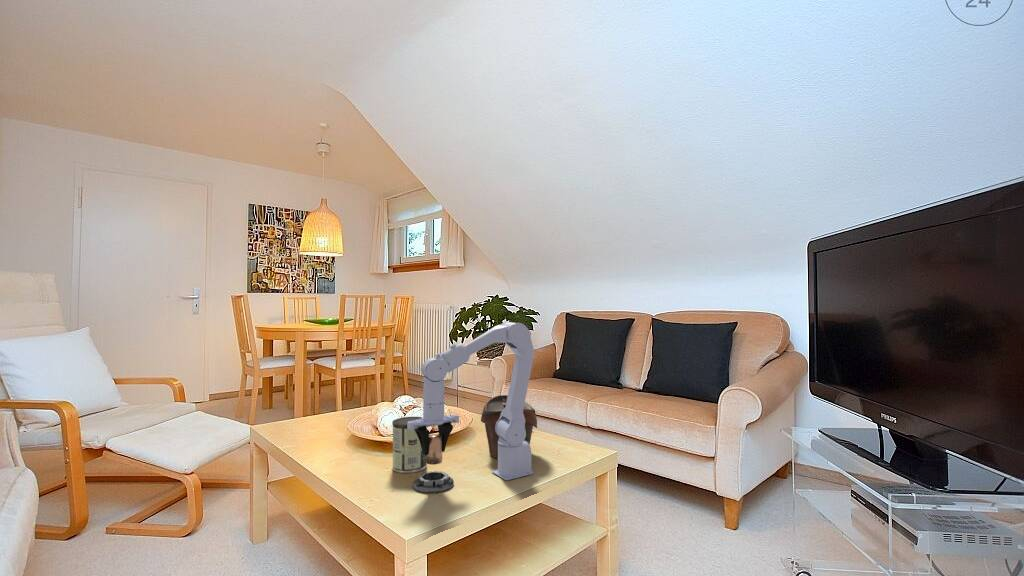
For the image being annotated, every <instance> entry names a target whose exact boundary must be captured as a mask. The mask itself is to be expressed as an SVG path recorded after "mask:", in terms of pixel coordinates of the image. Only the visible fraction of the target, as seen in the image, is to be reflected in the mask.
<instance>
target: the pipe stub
mask: <svg viewBox="0 0 1024 576" xmlns="http://www.w3.org/2000/svg"><path fill="white" fill-rule="evenodd" d="M441 463H443V452H442V435H441V434H439V433H429V439H428V455H426V464H427V465H433V466H435V465H440V464H441Z"/></svg>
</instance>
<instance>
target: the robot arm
mask: <svg viewBox="0 0 1024 576" xmlns="http://www.w3.org/2000/svg"><path fill="white" fill-rule="evenodd" d="M531 336H532V332H531V331H530V330H529V329H528V327H527V326H526V325H525V324H524V323H522V322H512V321H504V322H502V323H501V324H497V325H495V326H493V327H492V328H490V329H488V330H487V331H484V333H482V334H480V335H479V336H477V337H475V338H474V339H473V340H471V341H469V342H468V343H466V344H461V343H457V344H455V343H453V344H451V345H450V346H449V348H448V349H445V350H444V351H442V352H441V353H439V352H438V353H436V354H434V355H435V357H430V358H427V359H426V360H425V361H424V362H423V363H422V367H421V368H420V371H421V374H422V375H423V385H422V386H423V389H422V391H423V392H422V393H423V394H422V402H423V404H422V405H423V406H422V412H423V413H422V414H423V415H422V417H423V418H421V419H417V420H413V421H409V422H407V429H409V430H415V432H416V434H417V436H418V438H419V441H420V444H421V448H422V453H423V454H424V455H428V439H429V434H431V433H430V432H431V431H430V430H429V429H428V427H429V428H430V427H435V426H437V430H438V434H441V435H442V453H443V452H444V453H445V451H446V448H447V447H446V446H447V442H448V440H449V438H450V435H451V433H452V431H453V429H454V425H453V424H454V423H455V424H458V423H460V420H459V419H460V416H459V415H458V414H456V413H455V414H446V415H445V378H446V376H447V374H448V373H451V372H452V371H455V369H458V368H459V367H462V365H464V364H466V363H467V362H469V360H470V357H471V356H472V355H474V354H476V353H477V352H479V351H481V350H483V349H485V348H486V347H489V346H491V345H493V344H496V343H498V344H499V343H501V344H503V343H505V344H506V345H507V346H509V348H510V349H511V350H512V352H513V353H514V355H515V357H514V362H513V366H512V372H511V373H512V374H511V377H510V383H509V388H508V392H507V393H508V394H507V395H508V397H507V402H506V407H505V408H504V410H503V411H502V412H501V416H500V418H499V420H498V421H497V423H496V425H495V431H496V433H497V435H498V436H499V440H498V458H497V469H494V470H491V472H492V474H494V475H496V476H497V477H500V478H501V479H503V480H505V481H510V480H511V481H512V480H514V479H515V480H516V479H518V478H521V477H525V476H530V475H532V474H533V473H534V472H533V471H532V448H531V444H530V445H529V443H528V442H527V441H524V439H525V437H526V430H525V417H524V414H523V409H524V404H525V402H526V398H527V392H528V387H529V382H530V379H531V372H532V367H533V362H534V358H535V348H534V345H533V342H532V337H531Z"/></svg>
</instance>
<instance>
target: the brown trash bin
mask: <svg viewBox="0 0 1024 576" xmlns="http://www.w3.org/2000/svg"><path fill="white" fill-rule="evenodd" d="M507 397H508V394H507V395H506V394H505V395H504V394H500V395H496V396H493V397H492V398H490V399H489V400H487V402H485V404H484V406H483V409H482V413H481V417H480V422H481V423H482V424H484V428H485V434H486V440H487V445H488V452H489V456H490V457H492V458H494V459H498V440H499V436H498V435H497V433H496V431H495V425H496V423H497V421H498V420H499V418H500V416H501V412H502V411H503V410H504V408H505V407H506V402H507ZM523 414H524V417H525V430H526V437H525V439H524V441H527V442H528V443H529V445H530V446H531V439H532V433H535V432H534V431H533V430H534V428H536V429H538V419H537V415H536V414H537V413H536V410H535V409H534V408H533V407H532V406H531V405H530V404H529V403H528V402H526V401H525V404H524V409H523Z"/></svg>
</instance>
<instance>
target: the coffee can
mask: <svg viewBox="0 0 1024 576" xmlns="http://www.w3.org/2000/svg"><path fill="white" fill-rule="evenodd" d="M421 418H423V416H404V417H399V418H396V419H393V420H392V421H391V423H392V471H394V472H395V473H401V474H412V473H418V472H421V471H423V470H425V469H426V468H427V466H428V464H427V463H426V455H424V454H423V453H422V448H421V444H420V441H419V438H418V436H417V434H416V432H415V430H409V429H407V422H409V421H413V420H417V419H421Z"/></svg>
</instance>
